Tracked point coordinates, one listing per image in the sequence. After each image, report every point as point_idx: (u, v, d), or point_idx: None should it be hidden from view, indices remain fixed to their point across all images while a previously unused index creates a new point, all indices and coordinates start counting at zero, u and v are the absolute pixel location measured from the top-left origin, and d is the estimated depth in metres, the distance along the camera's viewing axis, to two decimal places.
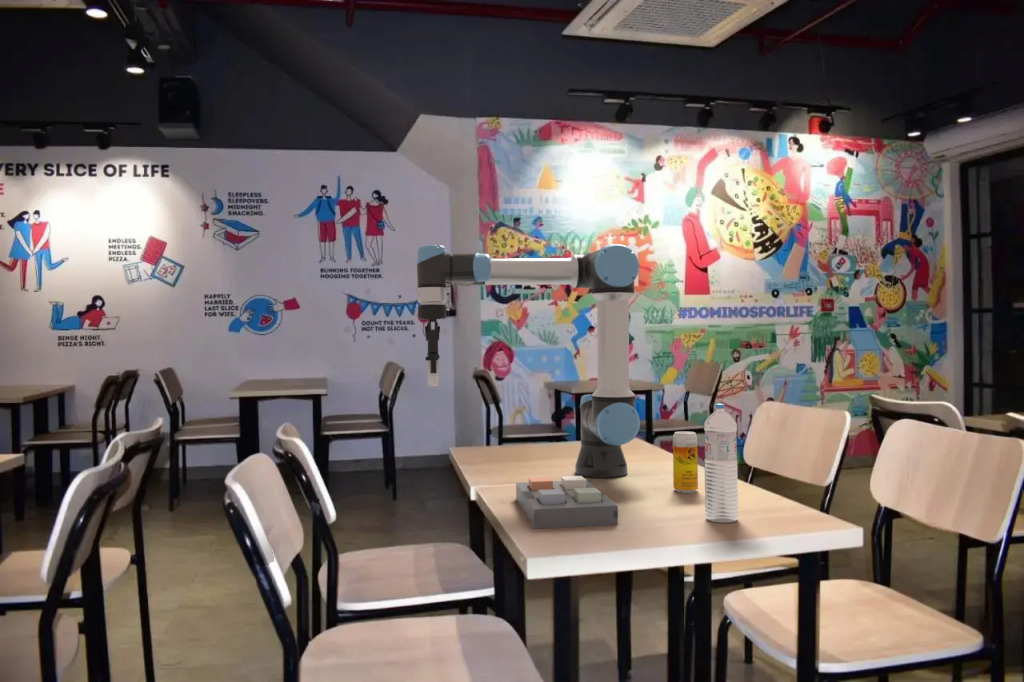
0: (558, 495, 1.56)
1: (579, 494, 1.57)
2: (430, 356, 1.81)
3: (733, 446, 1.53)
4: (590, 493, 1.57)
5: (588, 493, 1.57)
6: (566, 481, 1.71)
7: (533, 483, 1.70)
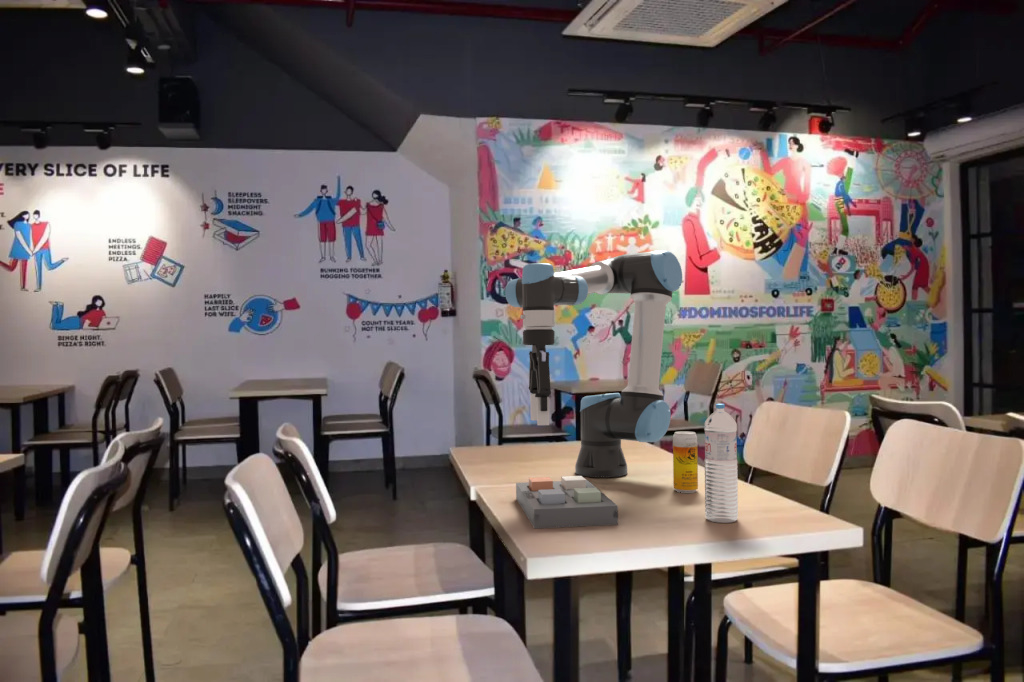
0: (558, 495, 1.56)
1: (579, 494, 1.57)
2: (542, 393, 1.64)
3: (733, 446, 1.53)
4: (590, 493, 1.57)
5: (588, 493, 1.57)
6: (566, 481, 1.71)
7: (533, 483, 1.70)
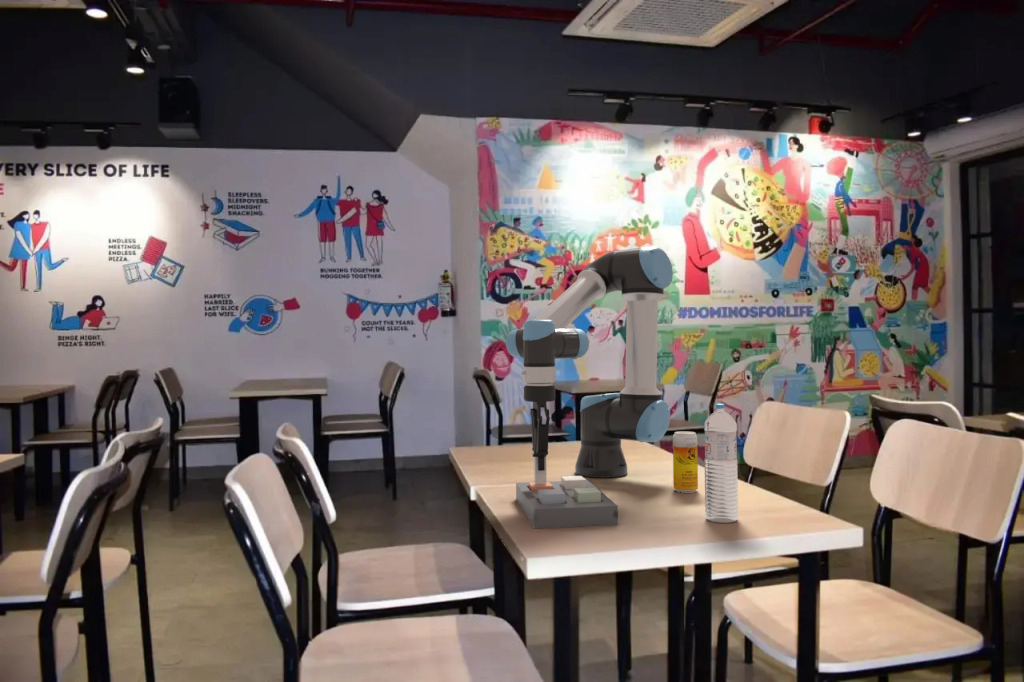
0: (558, 495, 1.56)
1: (579, 494, 1.57)
2: (539, 454, 1.69)
3: (733, 446, 1.53)
4: (590, 493, 1.57)
5: (588, 493, 1.57)
6: (566, 481, 1.71)
7: (533, 488, 1.70)
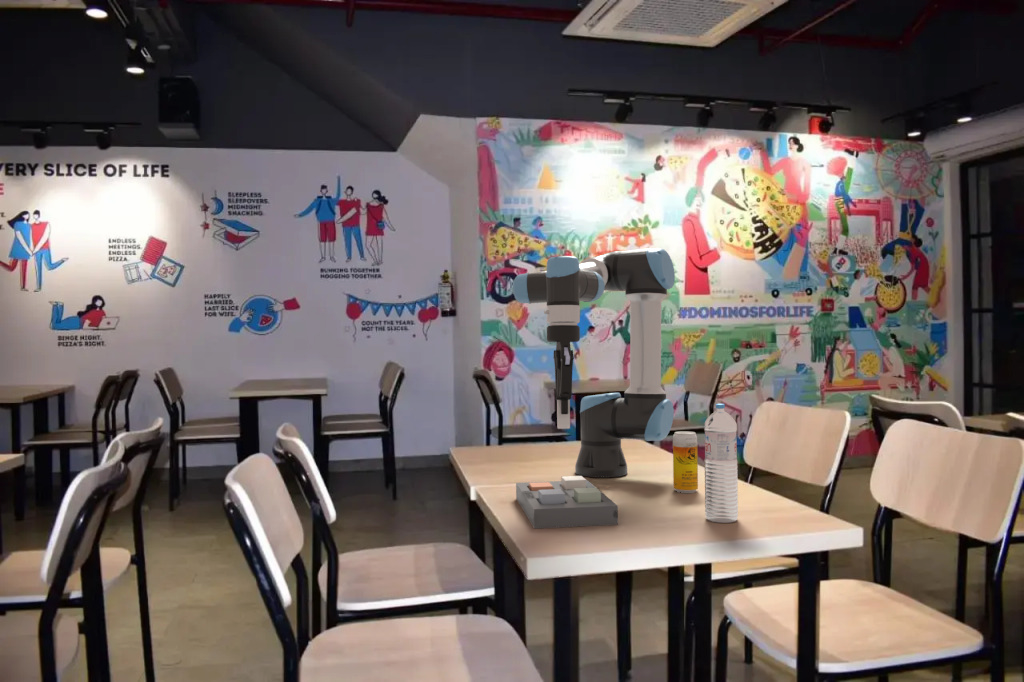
0: (558, 495, 1.56)
1: (579, 494, 1.57)
2: (562, 397, 1.61)
3: (733, 446, 1.53)
4: (590, 493, 1.57)
5: (588, 493, 1.57)
6: (566, 481, 1.71)
7: (533, 488, 1.70)
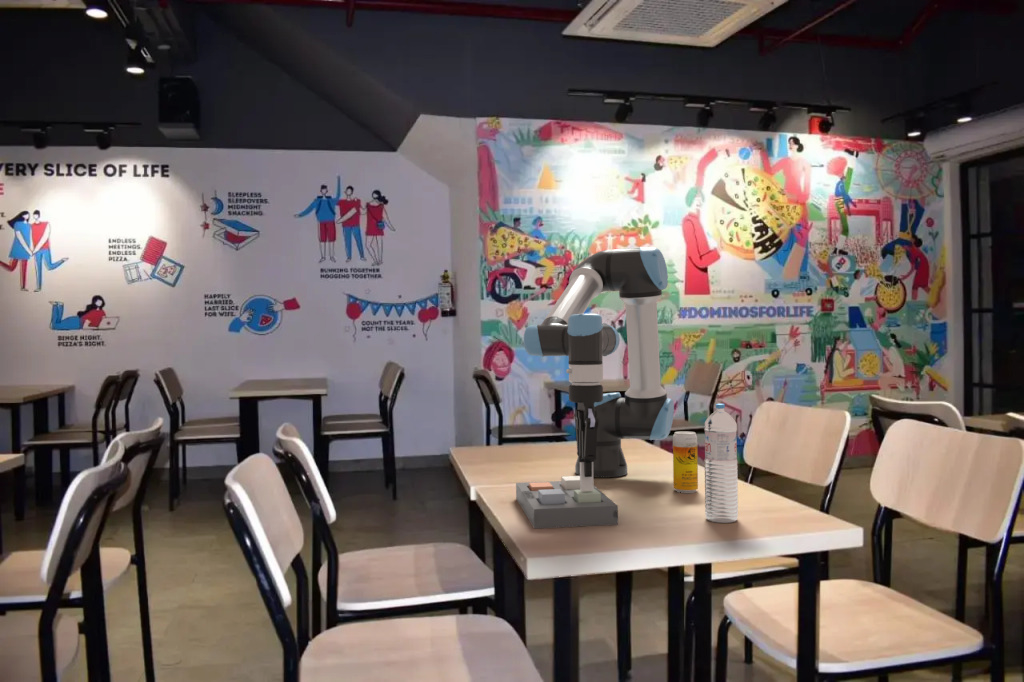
0: (558, 495, 1.56)
1: (579, 495, 1.57)
2: (586, 459, 1.56)
3: (733, 446, 1.53)
4: (590, 494, 1.57)
5: (588, 494, 1.57)
6: (566, 481, 1.71)
7: (533, 488, 1.70)
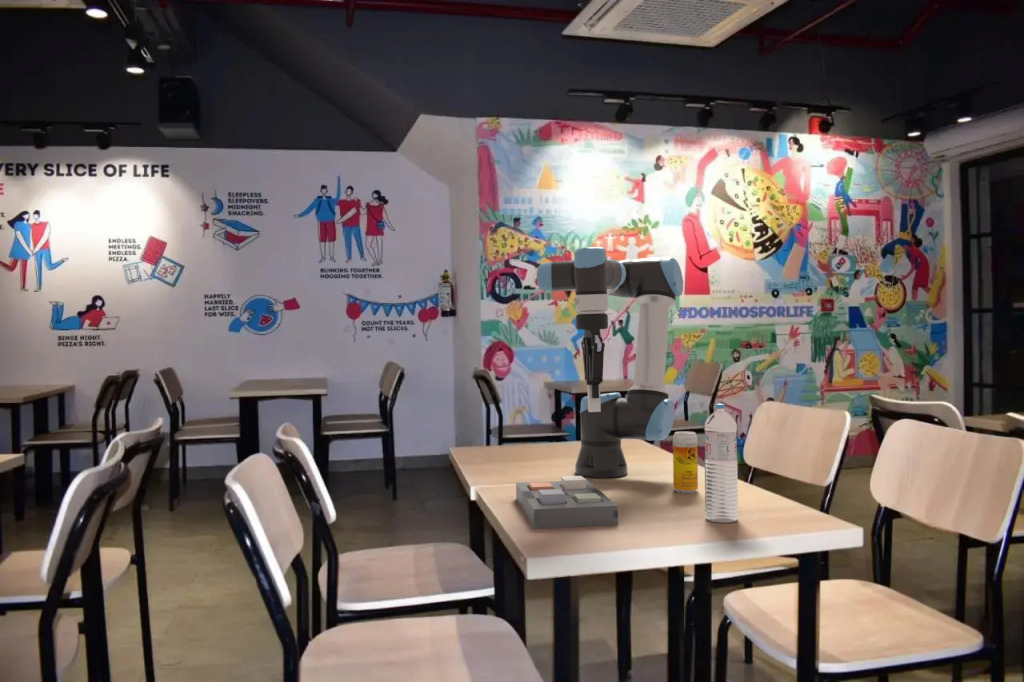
0: (558, 495, 1.56)
1: (579, 500, 1.57)
2: (594, 382, 1.69)
3: (733, 446, 1.53)
4: (590, 499, 1.57)
5: (588, 499, 1.57)
6: (566, 481, 1.71)
7: (533, 488, 1.70)
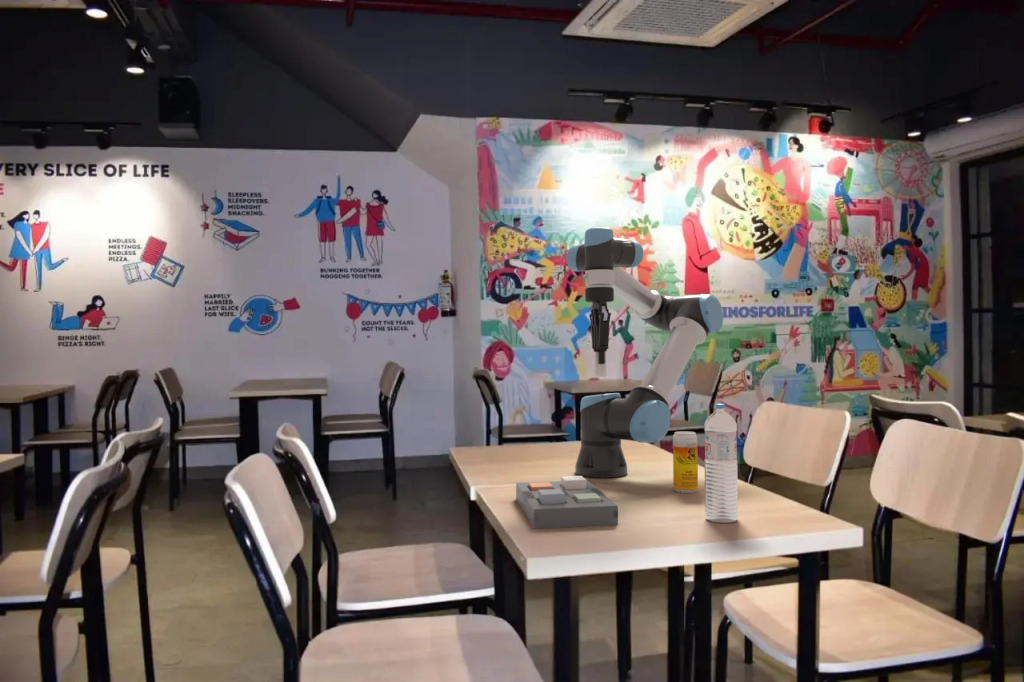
0: (558, 495, 1.56)
1: (579, 500, 1.57)
2: (600, 348, 1.87)
3: (733, 446, 1.53)
4: (590, 499, 1.57)
5: (588, 499, 1.57)
6: (566, 481, 1.71)
7: (533, 488, 1.70)
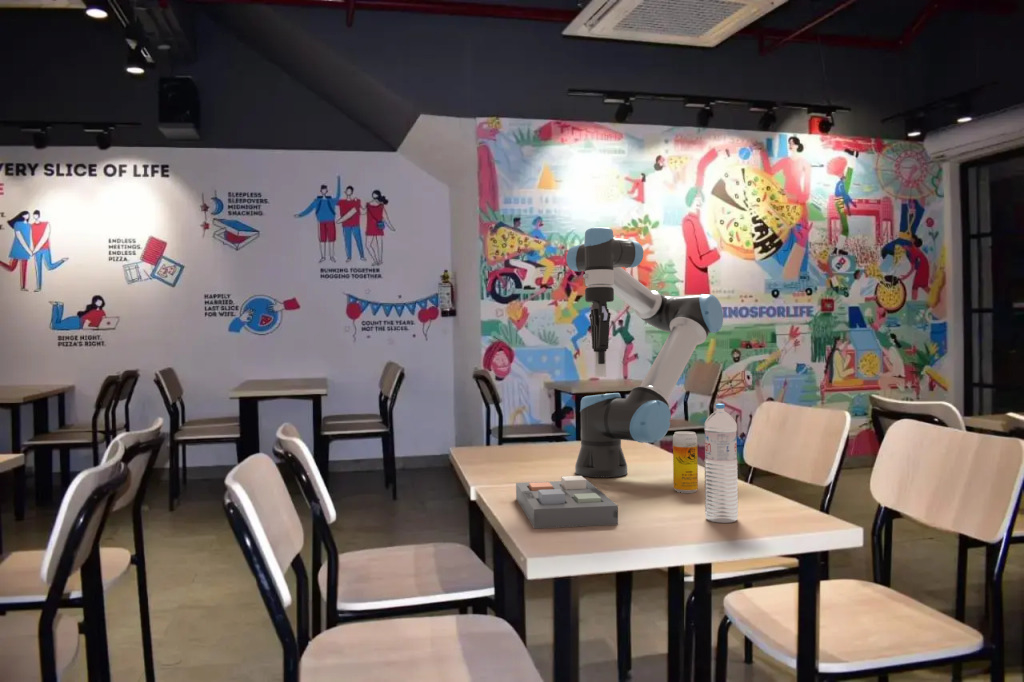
0: (558, 495, 1.56)
1: (579, 500, 1.57)
2: (600, 348, 1.87)
3: (733, 446, 1.53)
4: (590, 499, 1.57)
5: (588, 499, 1.57)
6: (566, 481, 1.71)
7: (533, 488, 1.70)
